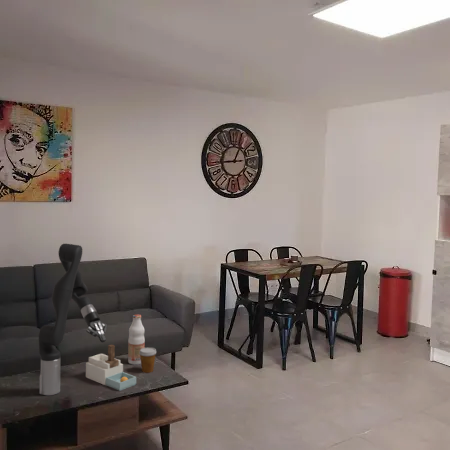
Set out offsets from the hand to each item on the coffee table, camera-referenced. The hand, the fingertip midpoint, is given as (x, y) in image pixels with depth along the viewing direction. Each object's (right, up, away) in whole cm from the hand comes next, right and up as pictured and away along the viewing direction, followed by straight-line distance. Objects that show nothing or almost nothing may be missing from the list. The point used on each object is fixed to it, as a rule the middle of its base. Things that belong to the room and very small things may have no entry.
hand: (104, 341), depth 265 cm
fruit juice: (+13, -19, +26) cm, 34 cm away
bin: (+11, -21, -7) cm, 25 cm away
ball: (+13, -18, -9) cm, 24 cm away
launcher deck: (0, -20, +1) cm, 20 cm away
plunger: (+5, -12, -3) cm, 13 cm away
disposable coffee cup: (+21, -20, +13) cm, 32 cm away
